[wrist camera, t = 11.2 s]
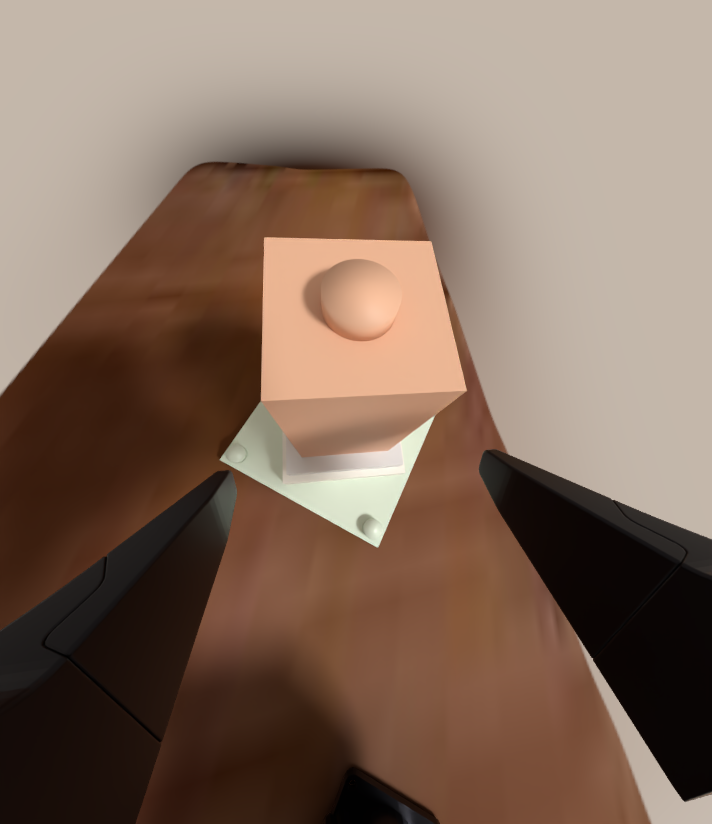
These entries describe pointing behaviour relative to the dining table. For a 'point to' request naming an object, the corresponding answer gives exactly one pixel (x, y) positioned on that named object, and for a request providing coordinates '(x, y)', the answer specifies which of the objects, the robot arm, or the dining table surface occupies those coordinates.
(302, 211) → the dining table surface
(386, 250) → the tall brick
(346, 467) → the brick stack
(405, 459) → the baseplate
